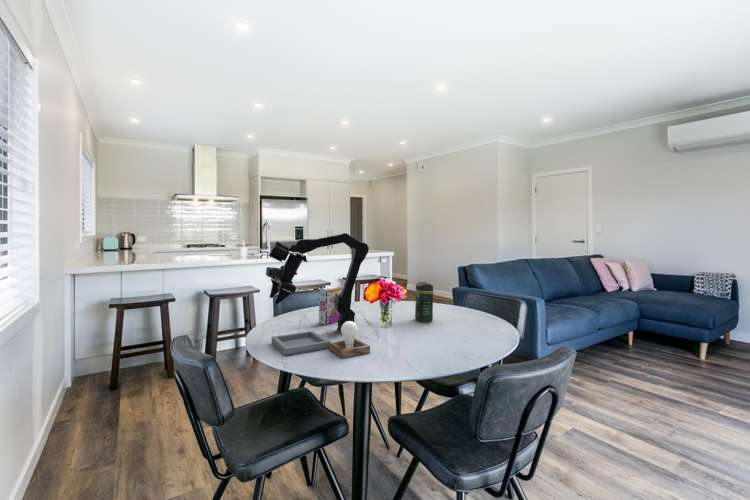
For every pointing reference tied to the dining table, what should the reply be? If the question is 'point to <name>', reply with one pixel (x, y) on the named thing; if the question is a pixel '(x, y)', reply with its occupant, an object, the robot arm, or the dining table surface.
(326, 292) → the candy bar box
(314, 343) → the tray
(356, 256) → the robot arm
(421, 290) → the coffee jar
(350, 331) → the lightbulb
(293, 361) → the dining table surface
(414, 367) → the dining table surface
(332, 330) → the dining table surface
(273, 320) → the dining table surface
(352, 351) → the tray
